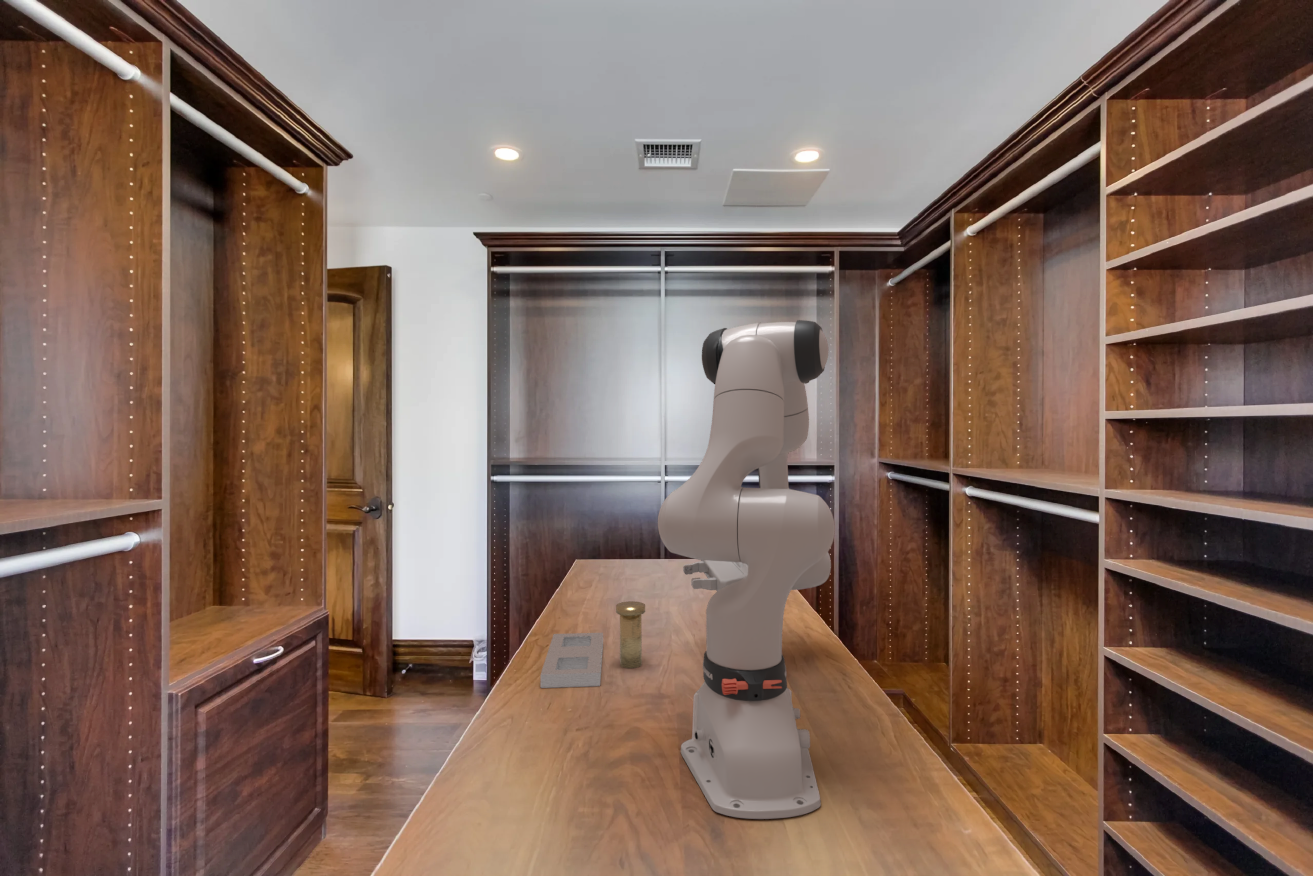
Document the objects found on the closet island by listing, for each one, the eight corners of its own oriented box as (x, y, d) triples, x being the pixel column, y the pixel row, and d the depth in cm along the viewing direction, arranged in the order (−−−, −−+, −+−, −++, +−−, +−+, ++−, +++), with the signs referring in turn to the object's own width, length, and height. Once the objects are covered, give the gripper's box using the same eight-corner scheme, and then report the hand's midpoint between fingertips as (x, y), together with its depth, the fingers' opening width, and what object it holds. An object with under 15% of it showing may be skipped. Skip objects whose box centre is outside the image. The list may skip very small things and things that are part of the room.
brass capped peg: (646, 669, 116) (646, 609, 116) (616, 670, 115) (615, 610, 115) (644, 658, 122) (644, 601, 122) (616, 658, 121) (616, 601, 121)
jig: (600, 686, 108) (599, 672, 108) (540, 688, 107) (540, 674, 107) (603, 643, 130) (603, 632, 130) (553, 645, 129) (553, 634, 129)
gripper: (738, 544, 131) (678, 548, 130) (767, 570, 111) (696, 576, 109) (739, 571, 132) (679, 576, 130) (768, 602, 111) (697, 608, 110)
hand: (687, 576), depth 119 cm, fingers open, 8 cm apart
